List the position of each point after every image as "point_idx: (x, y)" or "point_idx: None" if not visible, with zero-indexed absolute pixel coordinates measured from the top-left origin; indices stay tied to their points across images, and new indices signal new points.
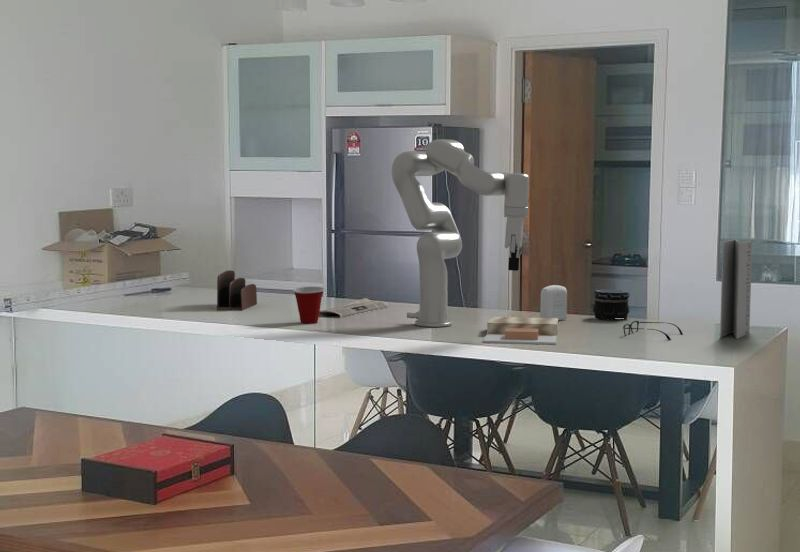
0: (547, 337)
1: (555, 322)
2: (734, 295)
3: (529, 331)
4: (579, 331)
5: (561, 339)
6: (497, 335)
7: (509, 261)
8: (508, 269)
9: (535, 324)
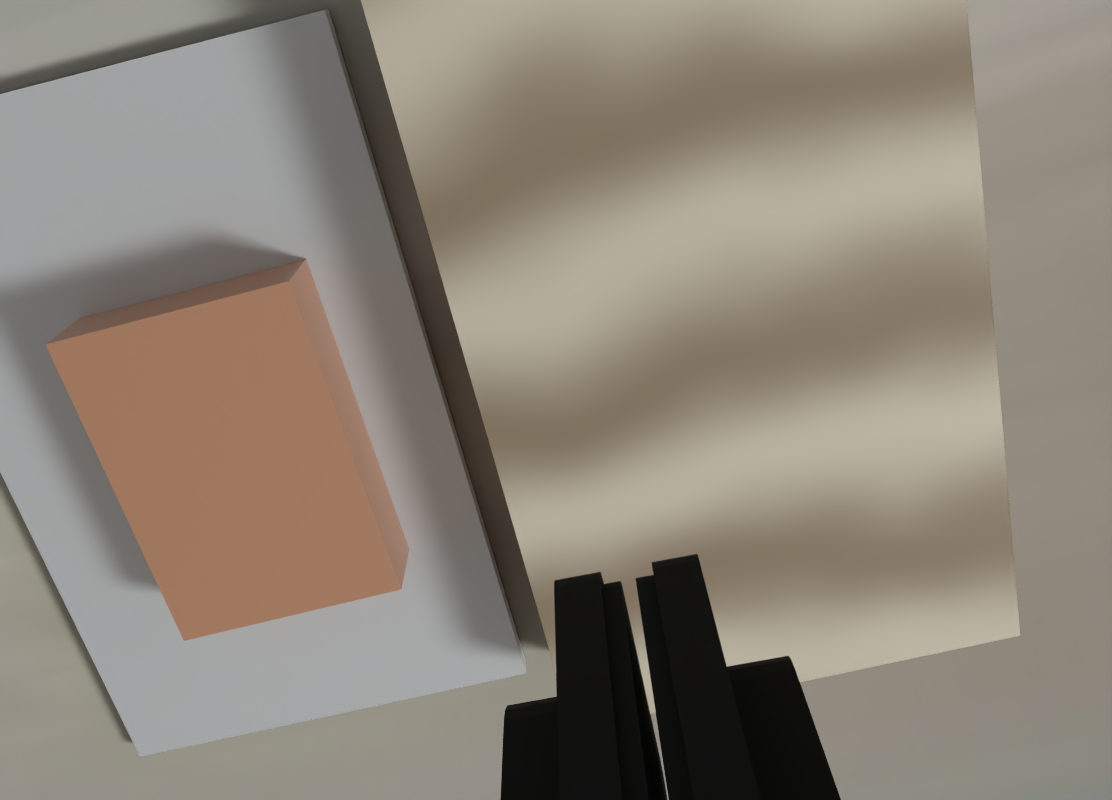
0: (376, 633)
1: None
2: None
3: (170, 564)
4: (954, 732)
5: (438, 715)
6: (265, 167)
7: (560, 772)
8: (556, 582)
9: (519, 541)
